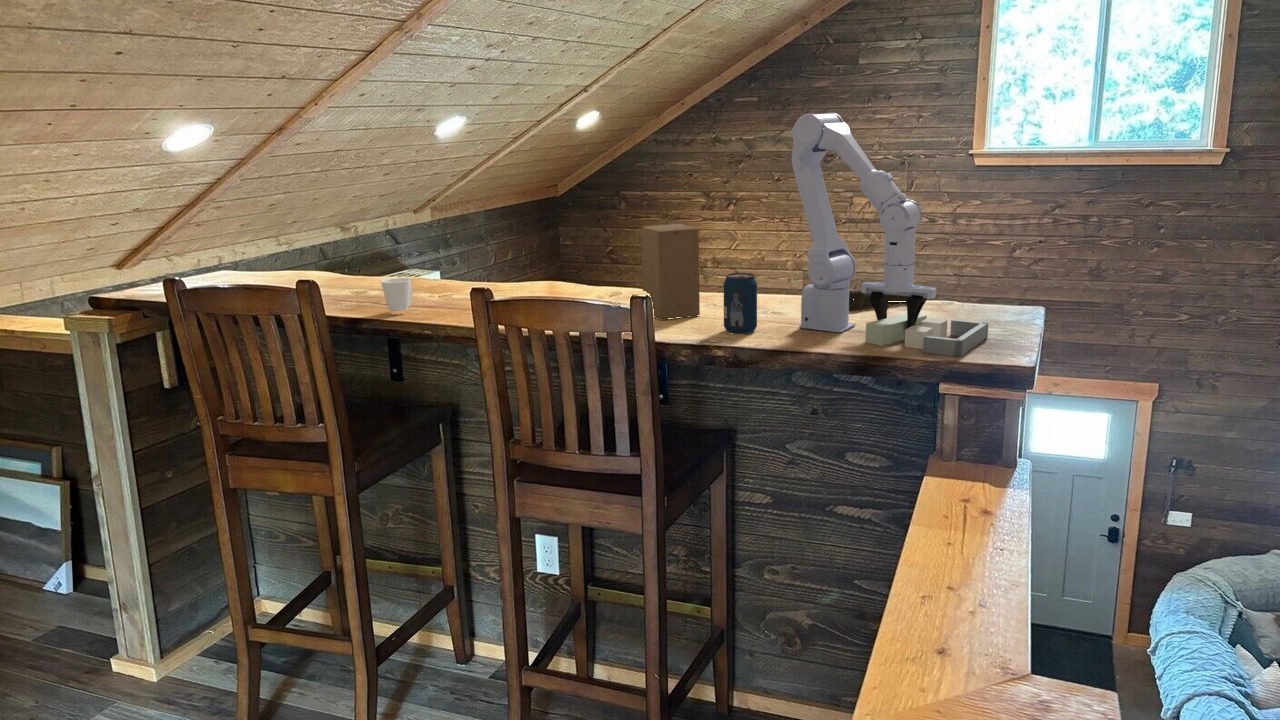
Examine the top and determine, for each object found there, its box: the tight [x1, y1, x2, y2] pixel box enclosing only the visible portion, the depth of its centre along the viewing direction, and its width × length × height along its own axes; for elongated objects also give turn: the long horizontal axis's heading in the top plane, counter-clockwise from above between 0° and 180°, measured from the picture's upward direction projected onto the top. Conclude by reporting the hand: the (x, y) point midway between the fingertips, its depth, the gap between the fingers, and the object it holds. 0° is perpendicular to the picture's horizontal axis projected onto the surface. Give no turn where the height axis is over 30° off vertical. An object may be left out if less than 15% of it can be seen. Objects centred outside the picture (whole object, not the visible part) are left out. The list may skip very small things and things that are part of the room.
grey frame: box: [922, 318, 989, 358], centre depth 185 cm, size 7×17×3 cm, turn 145°
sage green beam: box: [865, 312, 928, 346], centre depth 192 cm, size 4×14×4 cm, turn 128°
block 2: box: [921, 317, 948, 338], centre depth 191 cm, size 4×4×4 cm
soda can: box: [723, 272, 758, 335], centre depth 200 cm, size 7×7×12 cm
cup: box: [380, 277, 413, 312], centre depth 229 cm, size 7×10×8 cm
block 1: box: [904, 326, 933, 350], centre depth 185 cm, size 4×4×4 cm
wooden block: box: [640, 223, 701, 320], centre depth 216 cm, size 10×10×20 cm
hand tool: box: [849, 290, 911, 312], centre depth 221 cm, size 19×4×5 cm, turn 112°
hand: (896, 330), depth 192 cm, fingers closed on sage green beam, 5 cm apart
